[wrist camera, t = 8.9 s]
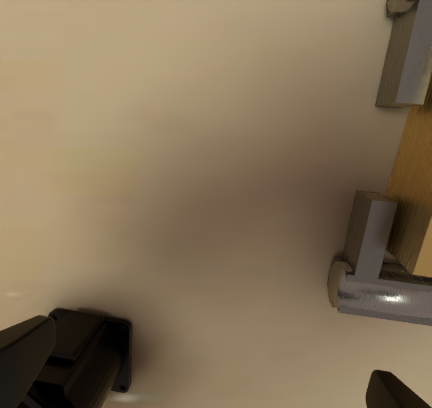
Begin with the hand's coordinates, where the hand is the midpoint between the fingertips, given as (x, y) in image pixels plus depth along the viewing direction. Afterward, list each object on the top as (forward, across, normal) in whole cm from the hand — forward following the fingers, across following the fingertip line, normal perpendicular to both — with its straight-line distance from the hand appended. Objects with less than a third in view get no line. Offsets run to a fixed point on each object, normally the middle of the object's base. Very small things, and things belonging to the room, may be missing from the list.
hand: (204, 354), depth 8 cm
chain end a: (+12, -11, 0) cm, 16 cm away
